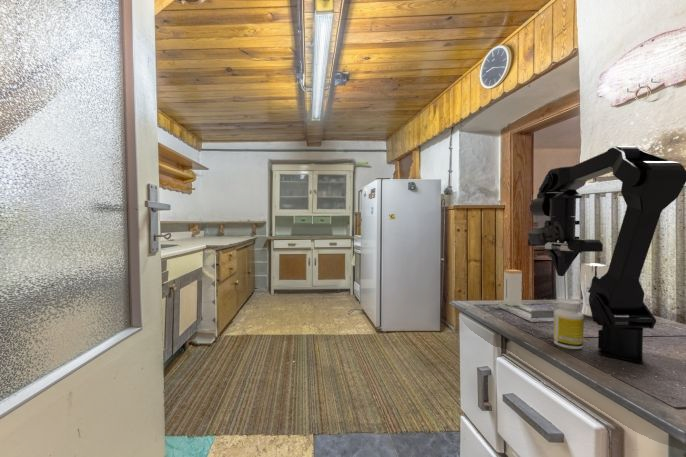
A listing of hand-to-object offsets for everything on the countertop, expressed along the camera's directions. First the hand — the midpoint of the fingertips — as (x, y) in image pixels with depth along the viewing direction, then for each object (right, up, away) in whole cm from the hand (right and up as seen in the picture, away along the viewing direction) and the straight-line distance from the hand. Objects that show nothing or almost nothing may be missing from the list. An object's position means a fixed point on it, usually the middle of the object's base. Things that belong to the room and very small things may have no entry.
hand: (560, 275), depth 85 cm
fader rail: (-3, -13, +11) cm, 17 cm away
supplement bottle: (-8, -14, -14) cm, 21 cm away
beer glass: (+17, -13, +10) cm, 24 cm away
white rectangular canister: (-4, -12, +17) cm, 21 cm away
